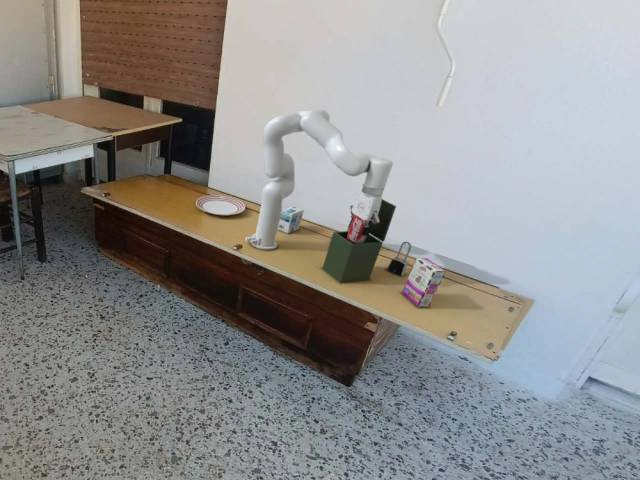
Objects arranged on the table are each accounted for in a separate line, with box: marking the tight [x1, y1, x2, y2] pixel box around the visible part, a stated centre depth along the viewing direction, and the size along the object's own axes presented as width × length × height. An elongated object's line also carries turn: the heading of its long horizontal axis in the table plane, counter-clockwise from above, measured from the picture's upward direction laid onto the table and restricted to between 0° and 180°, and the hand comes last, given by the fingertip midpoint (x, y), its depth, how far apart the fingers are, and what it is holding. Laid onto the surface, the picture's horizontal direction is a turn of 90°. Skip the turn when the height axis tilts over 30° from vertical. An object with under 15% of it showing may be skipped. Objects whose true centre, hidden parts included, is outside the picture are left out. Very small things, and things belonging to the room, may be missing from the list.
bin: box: [322, 230, 384, 284], centre depth 195 cm, size 15×13×18 cm
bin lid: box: [369, 198, 397, 243], centre depth 188 cm, size 15×13×1 cm
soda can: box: [347, 216, 370, 244], centre depth 188 cm, size 7×7×12 cm
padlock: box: [386, 241, 412, 277], centre depth 199 cm, size 7×4×15 cm, turn 37°
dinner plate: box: [195, 194, 246, 217], centre depth 257 cm, size 28×27×3 cm
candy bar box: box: [401, 257, 446, 308], centre depth 180 cm, size 11×5×16 cm, turn 5°
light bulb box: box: [277, 205, 304, 234], centre depth 235 cm, size 11×7×11 cm, turn 129°
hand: (358, 230), depth 189 cm, fingers closed on soda can, 7 cm apart
